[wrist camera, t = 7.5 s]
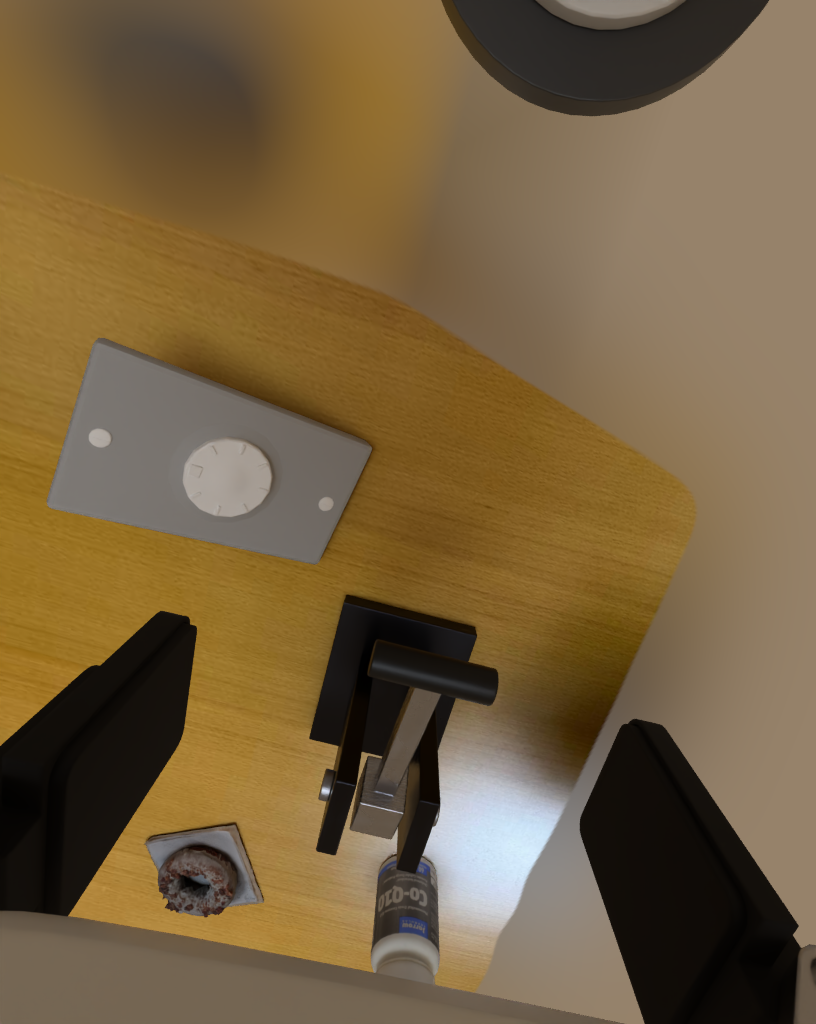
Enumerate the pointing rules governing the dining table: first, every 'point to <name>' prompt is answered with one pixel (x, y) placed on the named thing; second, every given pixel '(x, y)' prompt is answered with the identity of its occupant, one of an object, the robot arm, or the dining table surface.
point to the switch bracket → (381, 717)
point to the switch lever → (410, 726)
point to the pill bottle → (406, 923)
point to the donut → (203, 871)
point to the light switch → (201, 459)
